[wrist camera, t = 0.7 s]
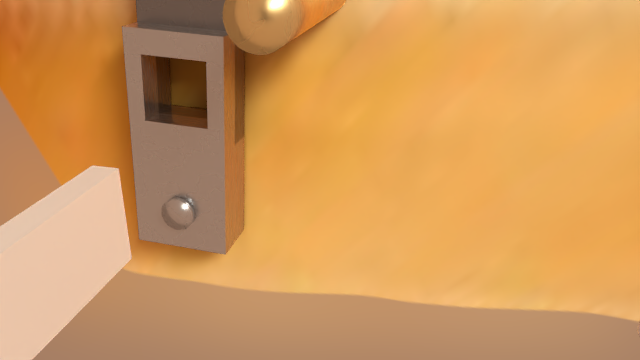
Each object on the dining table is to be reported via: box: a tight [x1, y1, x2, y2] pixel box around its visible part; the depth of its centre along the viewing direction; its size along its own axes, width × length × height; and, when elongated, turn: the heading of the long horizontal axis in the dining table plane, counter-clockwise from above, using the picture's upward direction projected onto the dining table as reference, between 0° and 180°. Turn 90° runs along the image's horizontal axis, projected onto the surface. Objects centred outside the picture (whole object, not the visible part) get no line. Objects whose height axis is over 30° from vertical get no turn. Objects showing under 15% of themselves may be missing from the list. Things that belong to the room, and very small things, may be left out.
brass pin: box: [223, 0, 346, 55], centre depth 32 cm, size 3×3×14 cm
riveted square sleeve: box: [122, 0, 245, 254], centre depth 40 cm, size 24×7×5 cm, turn 177°
